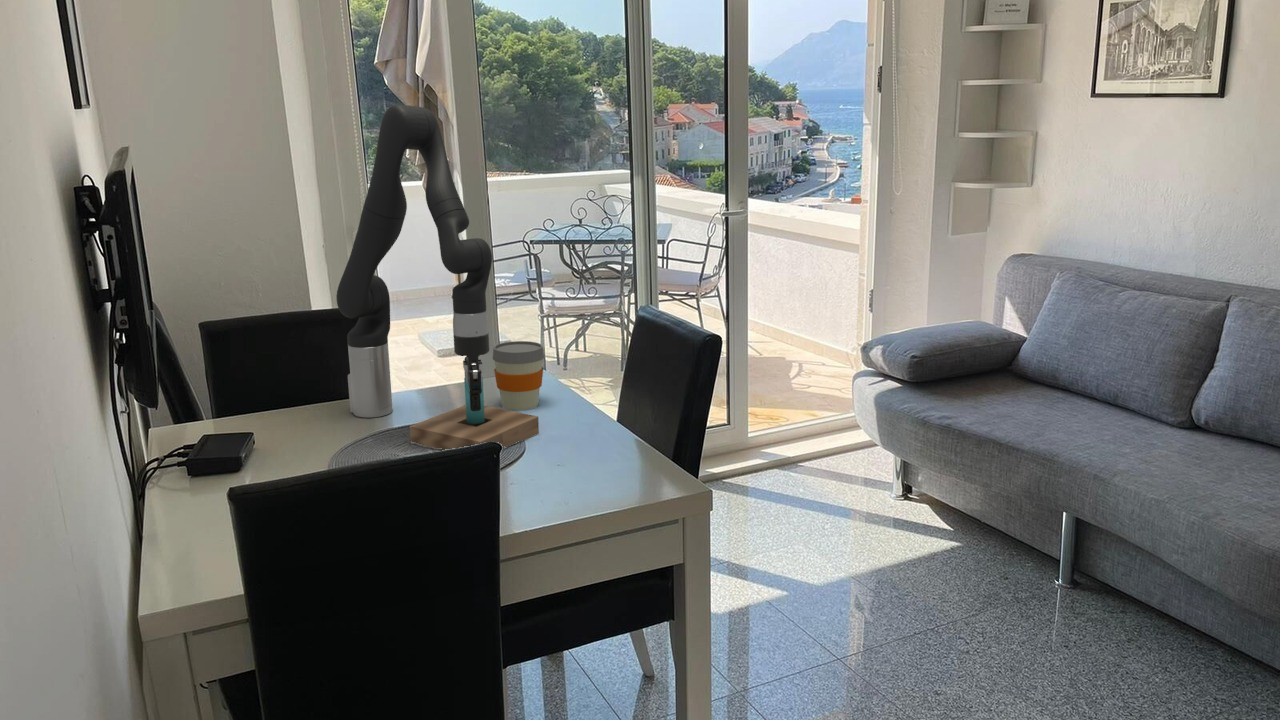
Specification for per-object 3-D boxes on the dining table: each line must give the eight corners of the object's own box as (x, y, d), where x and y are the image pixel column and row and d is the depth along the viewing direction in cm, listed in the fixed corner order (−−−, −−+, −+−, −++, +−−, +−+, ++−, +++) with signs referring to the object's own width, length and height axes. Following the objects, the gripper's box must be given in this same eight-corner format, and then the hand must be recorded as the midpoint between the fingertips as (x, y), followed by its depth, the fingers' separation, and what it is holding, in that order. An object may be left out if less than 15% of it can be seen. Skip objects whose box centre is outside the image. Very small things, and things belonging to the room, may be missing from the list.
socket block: (410, 443, 202) (409, 426, 201) (470, 419, 219) (470, 403, 218) (481, 460, 192) (480, 441, 191) (538, 433, 209) (538, 416, 208)
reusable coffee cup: (525, 395, 238) (524, 338, 235) (555, 405, 230) (554, 347, 226) (484, 404, 230) (482, 346, 227) (513, 416, 221) (511, 355, 218)
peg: (462, 422, 204) (460, 378, 201) (474, 417, 207) (472, 374, 205) (476, 425, 202) (474, 381, 199) (488, 420, 205) (486, 376, 203)
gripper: (491, 337, 194) (495, 415, 198) (485, 324, 207) (488, 397, 211) (455, 339, 192) (459, 418, 196) (451, 326, 205) (455, 399, 210)
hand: (474, 407), depth 204 cm, fingers closed on peg, 4 cm apart
